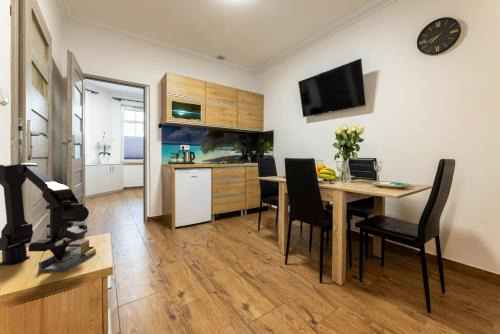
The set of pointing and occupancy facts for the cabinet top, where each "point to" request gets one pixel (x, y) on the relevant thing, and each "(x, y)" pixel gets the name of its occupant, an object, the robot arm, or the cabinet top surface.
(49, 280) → the cabinet top surface
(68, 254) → the light grey block
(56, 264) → the grey tray
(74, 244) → the housing
